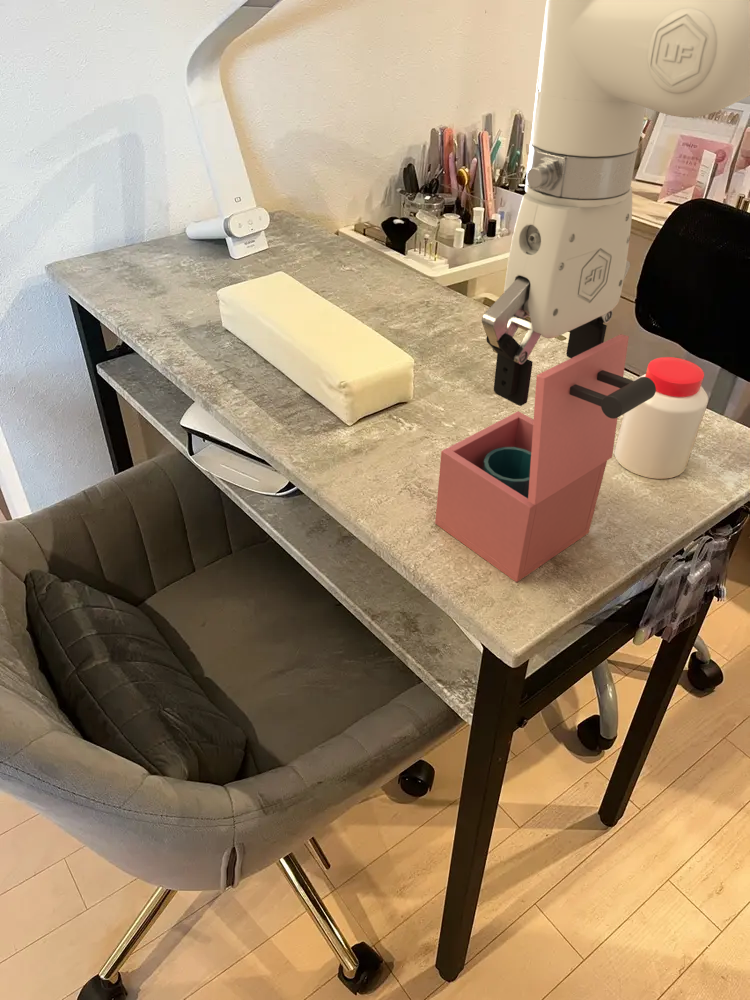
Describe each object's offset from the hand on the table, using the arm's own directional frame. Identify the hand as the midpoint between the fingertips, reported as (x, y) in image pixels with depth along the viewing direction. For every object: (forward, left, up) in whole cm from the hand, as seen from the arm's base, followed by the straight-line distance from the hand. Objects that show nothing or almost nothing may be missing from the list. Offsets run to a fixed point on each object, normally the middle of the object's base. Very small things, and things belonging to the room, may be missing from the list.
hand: (547, 379), depth 66 cm
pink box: (+1, +2, -16) cm, 16 cm away
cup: (+2, +1, -15) cm, 15 cm away
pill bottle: (-11, -15, -16) cm, 25 cm away
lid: (-3, +4, -1) cm, 5 cm away
